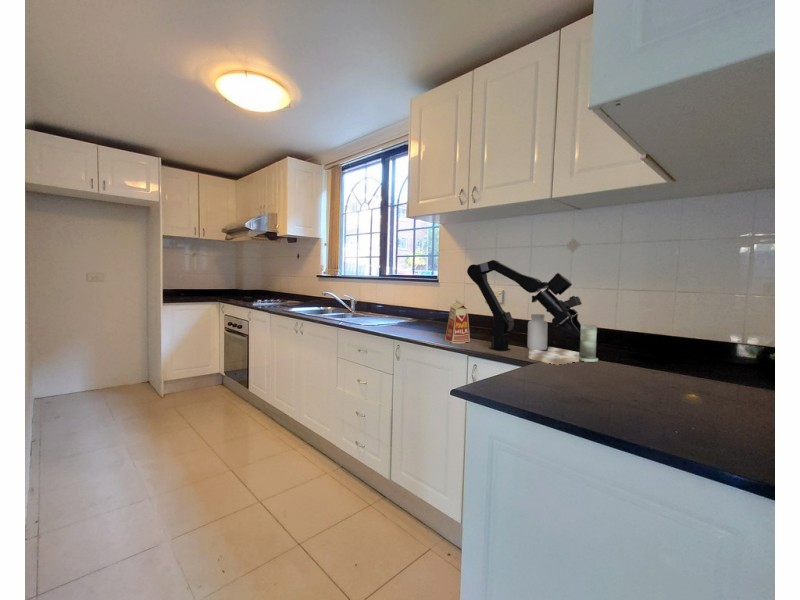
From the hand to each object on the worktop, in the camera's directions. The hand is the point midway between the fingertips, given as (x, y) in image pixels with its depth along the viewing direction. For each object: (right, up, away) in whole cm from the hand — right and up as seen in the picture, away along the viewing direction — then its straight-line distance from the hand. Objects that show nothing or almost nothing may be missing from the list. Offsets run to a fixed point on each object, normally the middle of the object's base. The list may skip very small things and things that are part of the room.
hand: (582, 334), depth 126 cm
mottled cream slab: (-11, -9, -1) cm, 15 cm away
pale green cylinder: (+1, -10, -1) cm, 10 cm away
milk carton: (-40, -8, +36) cm, 54 cm away
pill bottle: (-8, -9, +21) cm, 24 cm away
